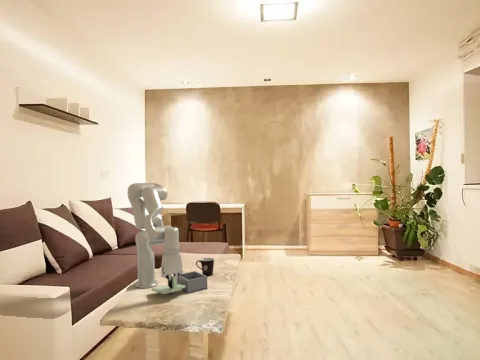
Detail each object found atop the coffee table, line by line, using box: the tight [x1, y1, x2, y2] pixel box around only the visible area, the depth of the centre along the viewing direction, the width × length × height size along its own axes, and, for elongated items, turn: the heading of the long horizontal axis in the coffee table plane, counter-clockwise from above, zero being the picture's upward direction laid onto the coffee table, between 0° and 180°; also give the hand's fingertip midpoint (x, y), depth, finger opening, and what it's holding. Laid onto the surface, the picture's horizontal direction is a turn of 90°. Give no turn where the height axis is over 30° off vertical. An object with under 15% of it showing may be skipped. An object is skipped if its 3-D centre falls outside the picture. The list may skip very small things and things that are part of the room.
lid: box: [151, 275, 185, 295], centre depth 174 cm, size 17×13×8 cm
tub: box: [177, 270, 208, 295], centre depth 185 cm, size 14×12×7 cm
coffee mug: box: [195, 257, 215, 277], centre depth 211 cm, size 12×9×10 cm
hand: (172, 286), depth 170 cm, fingers closed on lid, 1 cm apart
